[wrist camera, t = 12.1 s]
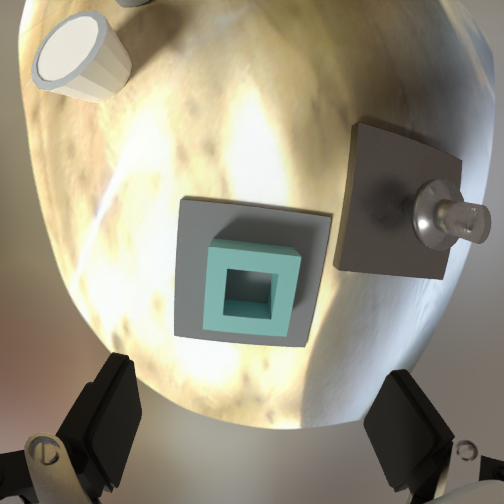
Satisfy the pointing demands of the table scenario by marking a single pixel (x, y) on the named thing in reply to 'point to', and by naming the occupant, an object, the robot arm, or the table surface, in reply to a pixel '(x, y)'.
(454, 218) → the ring stand
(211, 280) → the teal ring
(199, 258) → the slate mat
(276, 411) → the table surface
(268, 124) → the table surface
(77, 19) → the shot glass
